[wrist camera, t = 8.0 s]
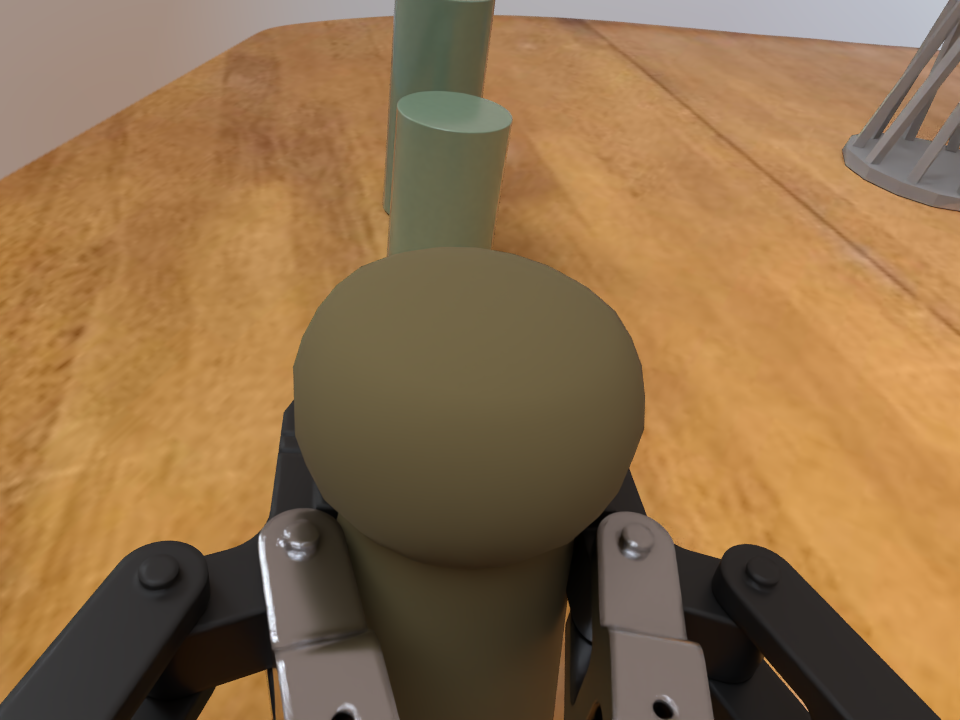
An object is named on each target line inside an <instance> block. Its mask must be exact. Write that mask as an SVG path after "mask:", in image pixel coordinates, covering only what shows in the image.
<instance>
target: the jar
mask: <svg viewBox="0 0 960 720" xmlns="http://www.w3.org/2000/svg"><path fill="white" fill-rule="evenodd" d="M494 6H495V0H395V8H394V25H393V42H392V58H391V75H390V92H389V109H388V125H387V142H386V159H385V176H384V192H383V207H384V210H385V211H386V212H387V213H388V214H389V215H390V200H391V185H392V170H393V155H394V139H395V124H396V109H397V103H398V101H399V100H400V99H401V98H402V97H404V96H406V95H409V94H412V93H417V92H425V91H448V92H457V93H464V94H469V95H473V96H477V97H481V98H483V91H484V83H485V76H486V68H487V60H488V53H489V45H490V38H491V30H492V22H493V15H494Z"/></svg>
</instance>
